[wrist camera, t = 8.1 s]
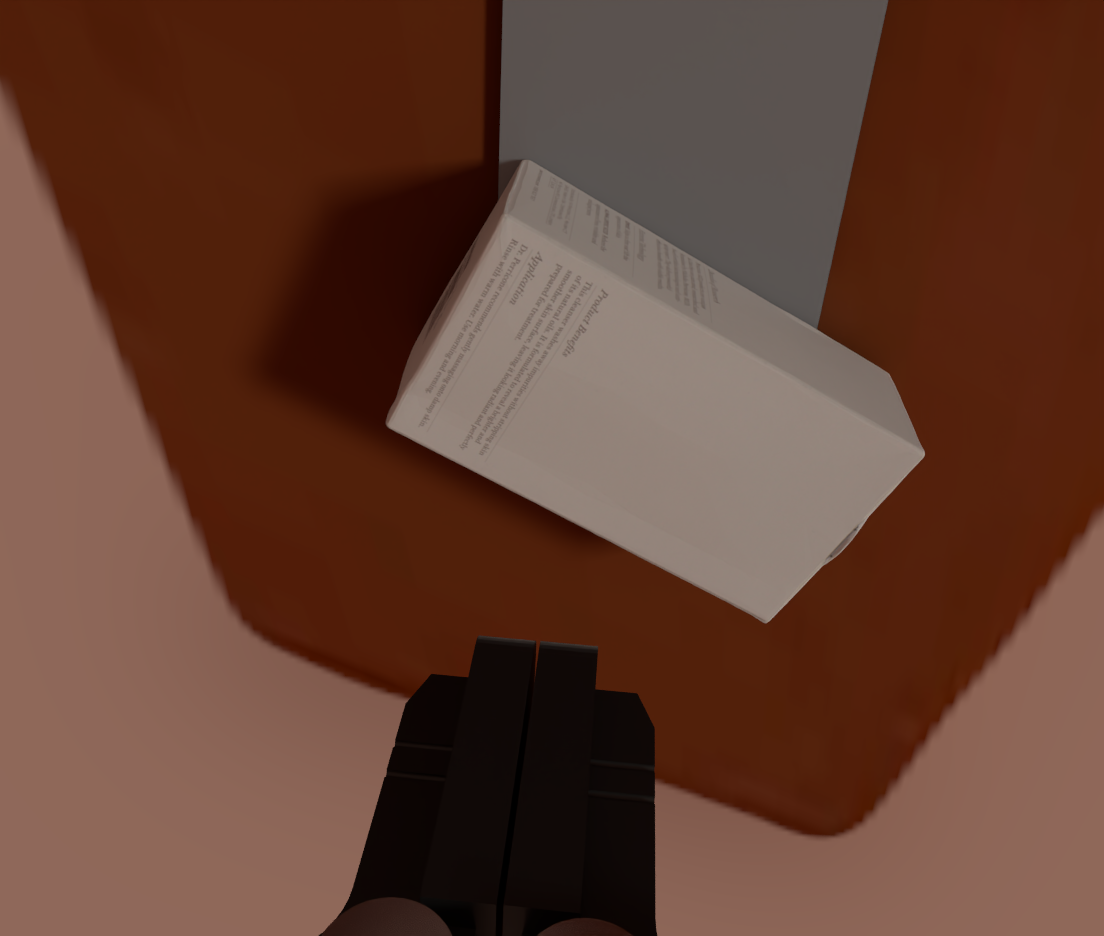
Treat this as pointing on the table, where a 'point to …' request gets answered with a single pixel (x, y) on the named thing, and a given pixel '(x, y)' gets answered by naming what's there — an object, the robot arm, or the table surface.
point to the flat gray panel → (700, 122)
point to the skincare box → (651, 399)
